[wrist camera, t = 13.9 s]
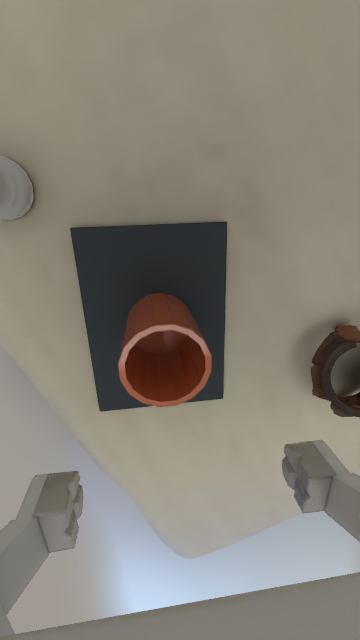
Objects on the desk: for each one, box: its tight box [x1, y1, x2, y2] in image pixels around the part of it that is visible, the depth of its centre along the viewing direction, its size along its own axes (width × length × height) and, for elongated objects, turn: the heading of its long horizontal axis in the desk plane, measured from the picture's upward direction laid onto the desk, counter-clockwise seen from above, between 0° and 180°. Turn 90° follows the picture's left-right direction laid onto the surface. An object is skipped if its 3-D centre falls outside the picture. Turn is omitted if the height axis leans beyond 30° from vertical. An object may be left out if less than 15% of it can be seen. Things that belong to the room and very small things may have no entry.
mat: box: [70, 222, 227, 411], centre depth 27 cm, size 18×13×1 cm
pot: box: [118, 293, 212, 407], centre depth 23 cm, size 6×6×8 cm
